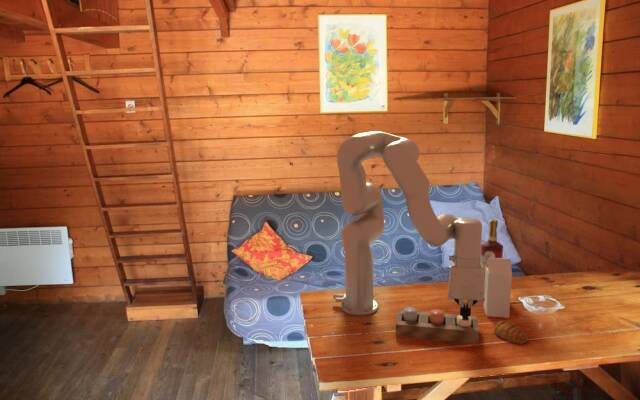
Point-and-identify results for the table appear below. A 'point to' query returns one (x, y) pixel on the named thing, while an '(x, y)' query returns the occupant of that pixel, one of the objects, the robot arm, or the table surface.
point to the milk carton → (498, 287)
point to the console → (437, 328)
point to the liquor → (491, 245)
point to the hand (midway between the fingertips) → (465, 317)
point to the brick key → (436, 317)
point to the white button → (463, 321)
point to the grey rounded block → (410, 314)
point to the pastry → (510, 332)
